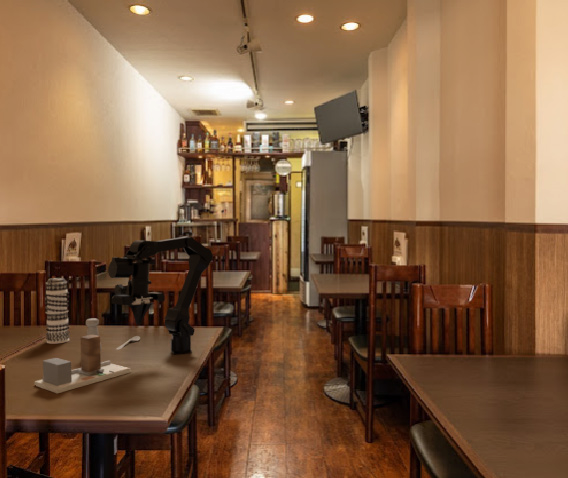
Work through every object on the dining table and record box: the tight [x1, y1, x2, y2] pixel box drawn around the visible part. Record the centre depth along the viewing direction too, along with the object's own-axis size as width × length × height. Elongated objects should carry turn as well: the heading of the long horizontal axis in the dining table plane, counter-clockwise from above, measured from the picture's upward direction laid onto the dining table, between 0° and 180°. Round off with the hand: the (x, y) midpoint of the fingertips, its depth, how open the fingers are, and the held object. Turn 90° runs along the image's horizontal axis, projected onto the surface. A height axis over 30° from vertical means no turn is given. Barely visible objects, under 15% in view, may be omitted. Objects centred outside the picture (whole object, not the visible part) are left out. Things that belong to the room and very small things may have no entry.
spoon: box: [115, 335, 141, 351], centre depth 194 cm, size 4×21×2 cm, turn 171°
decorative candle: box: [44, 277, 70, 345], centre depth 201 cm, size 9×9×25 cm
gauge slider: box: [77, 335, 104, 376], centre depth 152 cm, size 5×9×11 cm, turn 53°
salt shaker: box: [85, 317, 102, 352], centre depth 178 cm, size 6×6×13 cm
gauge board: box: [34, 357, 131, 394], centre depth 152 cm, size 24×12×7 cm, turn 143°
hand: (138, 324), depth 170 cm, fingers closed
